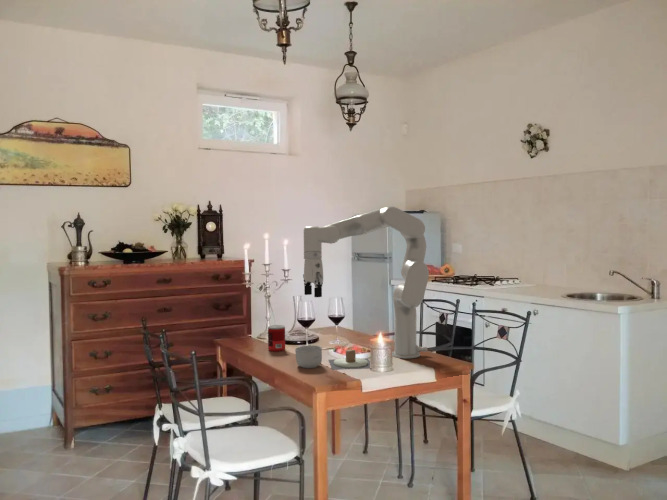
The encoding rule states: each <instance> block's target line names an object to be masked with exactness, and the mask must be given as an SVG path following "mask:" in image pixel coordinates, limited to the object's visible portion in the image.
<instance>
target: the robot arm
mask: <svg viewBox="0 0 667 500" xmlns="http://www.w3.org/2000/svg"><path fill="white" fill-rule="evenodd" d="M388 227H391V228H392V229H394V230H395V231H398V232H399V233H400V234H401V236H402V237H403V238H404V239H405V243H406V248H405V253H404V258H403V261H402V265H401V269H400V273H401V276H402V278H403V279H404V280H405V281H404V283H400V284H398V285H397V286H396V287H395V288H394V290H393V293H392V294H393V295H392V300H393V308H394V310H393V311H394V350H393V351H391V352H392V356H391V357H393V358H398V359H404V360H405V359H409V360H410V359H416V358H420V357H421V352H423V353H425V352H428V347H427V346H419V345H417V308H418V307H419V306H420V305H421V304H422V302H423V300H424V297H425V293H426V290H427V284H428V282H429V281H428V280H429V276H430V274H429V273H430V272H429V268H428V265H426V263H425V257H426V252H427V240H426V237H425V235H424V233H425V232H426V227H425V223H424V222H423V221H422V220H421V219H420V218H418V217H416V216H414V215H412V214H409V213H408V212H405V211H404V210H402V209H400V208H398V207H395V206H384V207H382V208H378V209H374V210H371V211H368V212H365V213H362V214H358V215H356V216H352V217H351V218H348V219H344V220H341V221H337V222H333V223H332V224H331V223H329V224H328V225H324V226H318V225H317V226H314V225H313V226H308V225H307V226H304V229H303V259H304V262H303V264H304V265H303V275H302V276H303V277H302V278H303V286H304V290H303V291H304V295H305V296H310V295H313V291H314V298H322V297H323V295H322V294H323V293H322V291H323V283H324V266H323V259H322V255H323V254H322V249H323V248H322V245H323V244H322V243H324V244H331V245H332V244H335V243H337V242H338V241H339V240H342V239H345V238H350V237H356V236H361V235H363V236H364V235H367V234H369V233H372V232H376V231H379V230H382V229H385V228H388ZM312 283H313V284H314V287H312ZM312 288H313V289H314V290H313V291H312Z"/></svg>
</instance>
